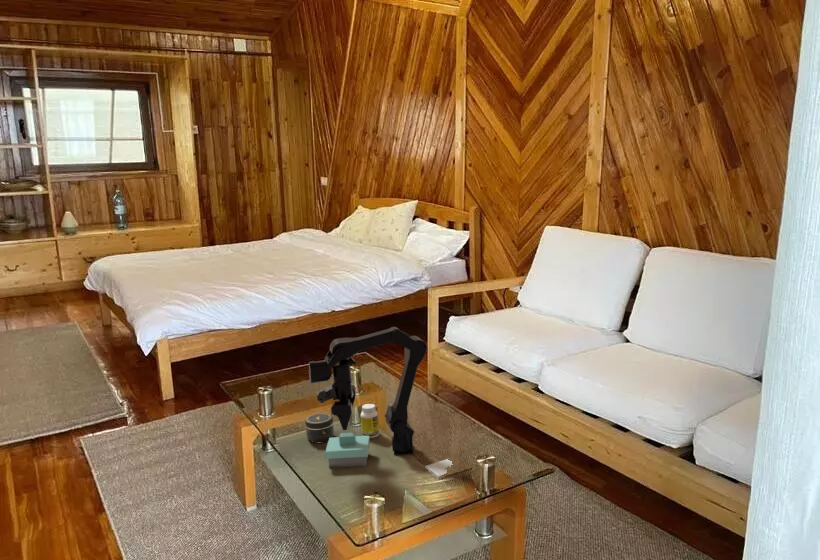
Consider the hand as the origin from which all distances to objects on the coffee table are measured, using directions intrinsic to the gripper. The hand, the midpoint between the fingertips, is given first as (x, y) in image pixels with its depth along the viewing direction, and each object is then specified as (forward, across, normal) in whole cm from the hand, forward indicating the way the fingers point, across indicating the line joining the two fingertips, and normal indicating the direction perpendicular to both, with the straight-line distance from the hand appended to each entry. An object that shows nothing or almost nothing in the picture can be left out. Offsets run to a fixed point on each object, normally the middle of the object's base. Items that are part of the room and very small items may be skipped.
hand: (346, 424), depth 199 cm
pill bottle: (+13, -19, +6) cm, 24 cm away
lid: (+9, 0, 0) cm, 9 cm away
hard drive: (+14, +9, +32) cm, 36 cm away
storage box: (+13, 0, 0) cm, 13 cm away
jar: (+13, -19, -12) cm, 26 cm away
